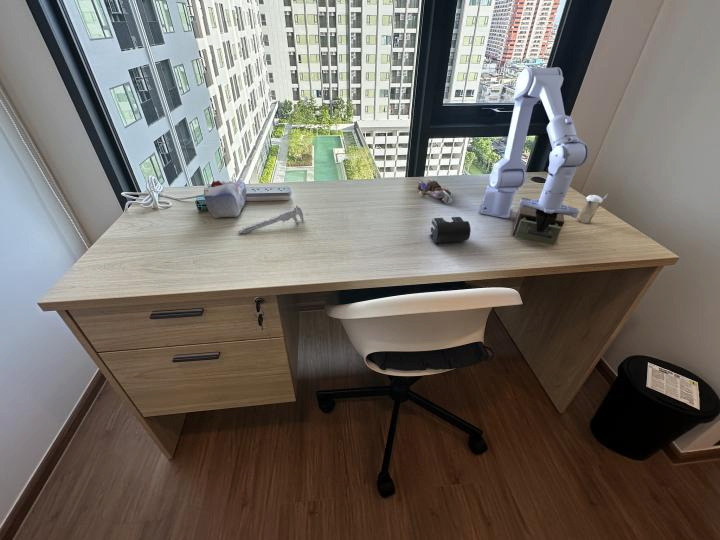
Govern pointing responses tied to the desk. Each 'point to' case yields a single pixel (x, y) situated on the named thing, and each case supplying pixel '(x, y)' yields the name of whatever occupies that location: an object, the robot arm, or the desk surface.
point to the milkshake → (590, 208)
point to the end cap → (450, 230)
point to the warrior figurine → (435, 191)
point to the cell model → (225, 198)
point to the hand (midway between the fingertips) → (537, 234)
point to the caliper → (276, 219)
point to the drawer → (537, 232)
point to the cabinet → (532, 214)
